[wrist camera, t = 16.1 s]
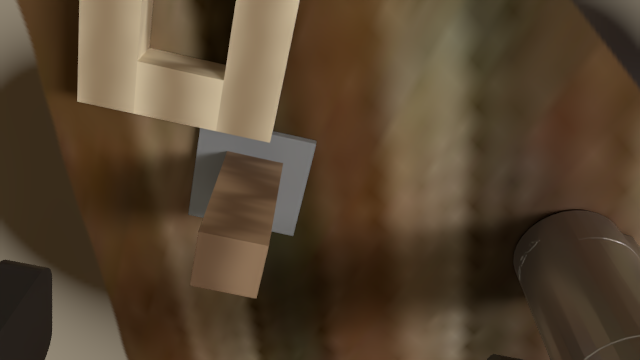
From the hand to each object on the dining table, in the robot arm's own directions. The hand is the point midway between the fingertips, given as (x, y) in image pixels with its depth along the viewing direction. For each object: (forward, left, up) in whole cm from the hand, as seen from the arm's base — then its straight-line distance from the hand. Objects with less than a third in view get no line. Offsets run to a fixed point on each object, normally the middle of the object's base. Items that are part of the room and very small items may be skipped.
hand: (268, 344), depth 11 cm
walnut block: (+2, +17, -34) cm, 38 cm away
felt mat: (+2, +17, -34) cm, 38 cm away
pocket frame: (+8, +5, -34) cm, 35 cm away
